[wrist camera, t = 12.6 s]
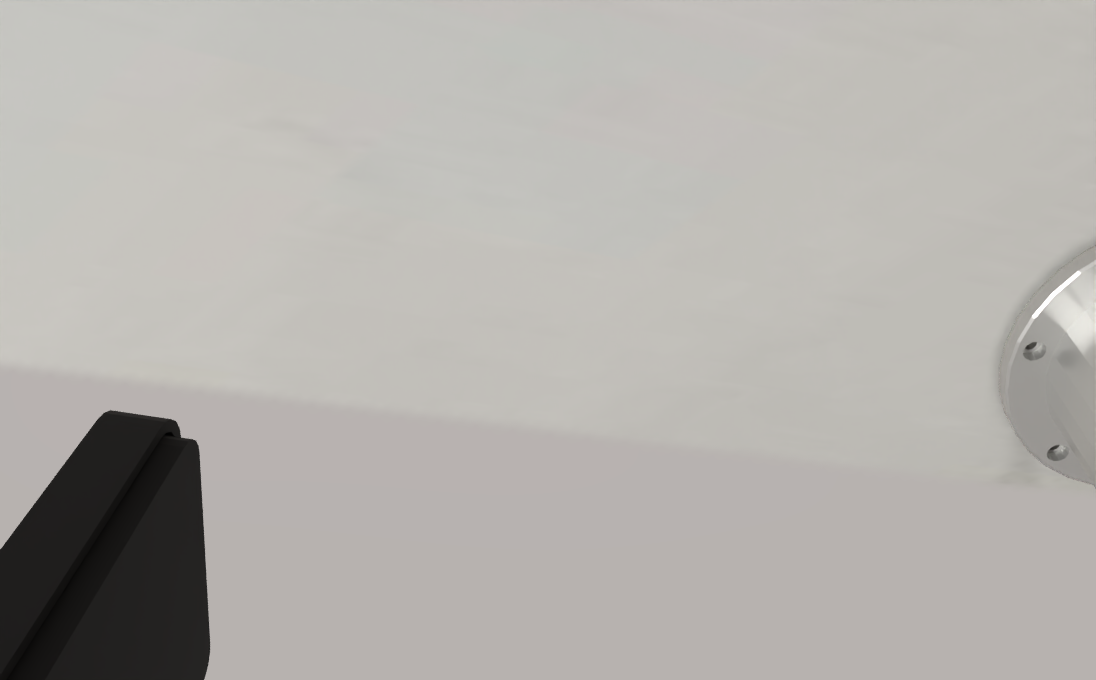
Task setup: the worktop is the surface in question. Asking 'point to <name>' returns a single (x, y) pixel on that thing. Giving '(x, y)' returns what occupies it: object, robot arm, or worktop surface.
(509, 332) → the worktop surface
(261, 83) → the worktop surface
